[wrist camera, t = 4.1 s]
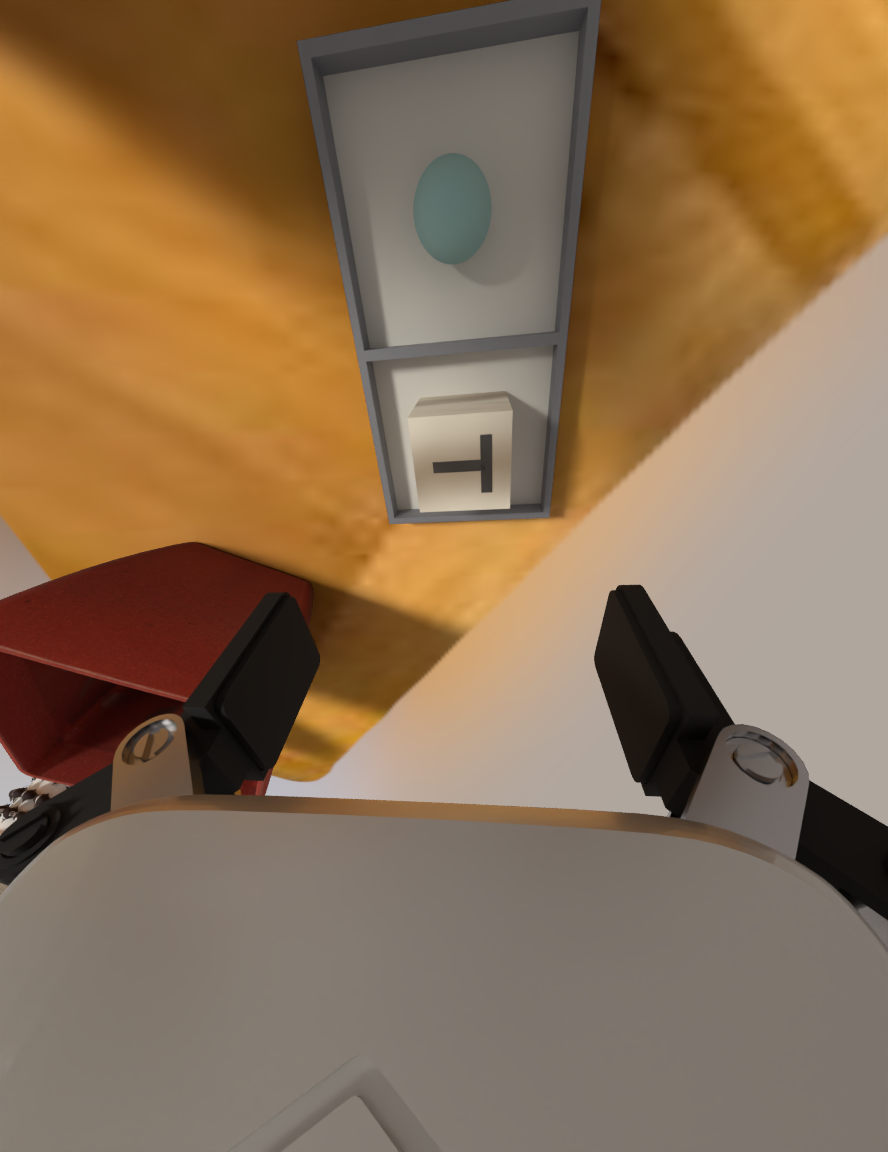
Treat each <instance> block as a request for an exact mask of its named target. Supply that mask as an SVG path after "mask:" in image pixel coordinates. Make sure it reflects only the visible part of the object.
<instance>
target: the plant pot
mask: <svg viewBox="0 0 888 1152" xmlns="http://www.w3.org/2000/svg"><path fill="white" fill-rule="evenodd" d="M269 592H288V593H289V594H290V595H291V597H294V598H295V599H296V600H297V603H298V605H299V607H300V610H301V612H302V614H303V617H304V619H305V622H306V624H307V626H308V629H309V624H310V618H311V612H312V605H313V588H312V586H311V584H309V583H308V582H307V581H305V580H302V579H299V578H296V577H293V576H291V575H288V574H285V573H282V572H279V571H276V570H273V569H270V568H267V567H265V566H262V565H259V564H256V563H253V562H250V561H247V560H244V559H241V558H239V557H236V556H233V555H230V554H227V553H224V552H222V551H219V550H216V549H213V548H210V547H207V546H204V545H201V544H199V543H194V542H188V543H182V544H176V545H171V546H167V547H163V548H158V549H154V550H150V551H146V552H142V553H138V554H134V555H130V556H127V557H123V558H119V559H116V560H112V561H109V562H106V563H103V564H99V565H96V566H93V567H90V568H86V569H83V570H80V571H78V572H75V573H72V574H69V575H66V576H63V577H60V578H57V579H54V580H52V581H49V582H46V583H43V584H41V585H38V586H35V587H33V588H30V589H27V590H25V591H23V592H19V593H17V594H14V595H12V596H9V597H7V598H4V599H2V600H0V743H1V744H2V746H3V747H4V749H5V750H6V752H7V753H8V755H9V756H10V758H11V759H12V761H13V762H14V763H15V765H16V766H17V768H18V769H19V770H20V771H21V772H22V773H24V774H26V775H28V776H31V777H34V778H38V779H42V780H46V781H50V782H55V783H59V784H64V785H68V786H73V785H75V784H77V783H78V782H80V781H82V780H84V779H85V778H87V777H89V776H91V775H92V774H94V773H96V772H98V771H99V770H101V769H103V768H104V767H106V766H108V765H110V764H111V763H113V759H114V755H115V752H116V750H117V748H118V747H119V745H120V743H121V742H122V741H123V740H124V738H125V737H126V736H127V735H128V734H129V733H130V732H131V731H133V730H134V729H135V728H136V727H138V726H139V725H141V724H142V723H144V722H146V721H147V720H149V719H151V718H154V717H156V716H159V715H164V714H176V715H178V716H180V715H181V714H182V713H183V711H184V709H183V708H182V706H183V705H184V703H185V702H186V701H187V699H188V698H189V697H190V695H191V694H192V693H193V691H194V690H195V689H196V687H197V686H198V685H199V683H200V682H201V681H202V679H203V678H204V677H205V675H206V674H207V672H208V671H209V670H210V668H211V667H212V666H213V664H214V663H215V662H216V660H217V659H218V658H219V656H220V655H221V654H222V652H223V651H224V650H225V648H226V647H227V645H228V644H229V643H230V641H231V640H232V639H233V637H234V636H235V635H236V633H237V632H238V631H239V629H240V628H241V627H242V625H243V624H244V623H245V621H246V620H247V619H248V617H249V616H250V614H251V613H252V612H253V610H254V609H255V608H256V606H257V605H258V604H259V602H260V601H261V600H262V598H263V597H264V596H265V595H266V594H267V593H269ZM272 770H273V768H272V769H269V770H268V772H267V774H266V777H265V779H264V781H252V780H245V779H244V781H243V783H242V785H241V787H240V791H241V795H260V796H265V793H266V790H267V787H268V784H269V781H270V777H271V774H272Z"/></svg>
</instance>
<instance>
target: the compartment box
mask: <svg viewBox="0 0 888 1152" xmlns="http://www.w3.org/2000/svg"><path fill="white" fill-rule="evenodd" d="M600 8H601V0H510V1H505V2H499V3H494V4H489V5H483V6H478V7H473V8H468V9H462V10H457V11H452V12H447V13H441V14H436V15H431V16H426V17H420V18H415V19H410V20H405V21H399V22H394V23H389V24H383V25H378V26H373V27H368V28H362V29H357V30H352V31H347V32H341V33H336V34H331V35H326V36H320V37H315V38H310V39H304V40H299V41H297V45H298V51H299V56H300V61H301V66H302V71H303V77H304V82H305V87H306V92H307V97H308V103H309V108H310V113H311V118H312V123H313V129H314V134H315V139H316V144H317V149H318V155H319V160H320V165H321V170H322V175H323V181H324V186H325V191H326V196H327V201H328V207H329V212H330V217H331V222H332V227H333V233H334V238H335V243H336V248H337V253H338V259H339V264H340V269H341V274H342V279H343V285H344V290H345V295H346V300H347V305H348V311H349V316H350V321H351V326H352V331H353V337H354V342H355V347H356V352H357V357H358V363H359V368H360V373H361V378H362V383H363V389H364V394H365V399H366V404H367V409H368V415H369V420H370V425H371V430H372V435H373V441H374V446H375V451H376V456H377V461H378V467H379V472H380V477H381V482H382V487H383V493H384V498H385V503H386V508H387V513H388V519H389V524H405V523H430V522H454V521H479V520H504V519H529V518H549V516H550V506H551V496H552V486H553V476H554V466H555V456H556V446H557V436H558V426H559V416H560V406H561V396H562V386H563V376H564V366H565V356H566V346H567V336H568V326H569V316H570V307H571V297H572V287H573V277H574V267H575V257H576V247H577V237H578V227H579V217H580V207H581V197H582V187H583V177H584V167H585V157H586V147H587V137H588V127H589V117H590V107H591V97H592V88H593V78H594V68H595V58H596V48H597V38H598V28H599V18H600ZM448 153H458V154H462V155H465V156H466V157H468V158H470V159H471V160H472V161H474V162H475V163H476V164H477V165H478V167H479V168H480V169H481V171H482V172H483V174H484V176H485V178H486V181H487V183H488V186H489V190H490V196H491V206H492V210H491V221H490V225H489V229H488V232H487V235H486V238H485V240H484V242H483V243H482V245H481V247H480V248H479V249H478V251H477V252H476V253H475V254H474V255H473V256H472V257H471V258H469V259H468V260H466V261H464V262H462V263H459V264H445V263H442V262H439V261H438V260H436V259H434V258H433V257H432V256H431V255H430V254H429V253H428V252H427V251H426V250H425V248H424V247H423V245H422V244H421V242H420V239H419V237H418V234H417V231H416V228H415V224H414V216H413V204H414V196H415V191H416V188H417V185H418V182H419V179H420V177H421V175H422V174H423V172H424V170H425V169H426V168H427V166H428V165H429V164H430V163H431V162H432V161H433V160H435V159H436V158H438V157H439V156H441V155H444V154H448ZM499 391H506V393H507V396H508V399H509V402H510V404H511V407H512V410H513V420H512V455H511V490H510V509H488V510H465V511H442V512H420V509H419V502H418V494H417V487H416V479H415V472H414V464H413V457H412V449H411V442H410V434H409V427H408V419H407V418H408V416H409V415H410V413H411V411H412V410H413V408H414V407H415V405H416V403H417V402H418V400H419V399H420V398H421V397H434V396H447V395H460V394H473V393H486V392H499Z"/></svg>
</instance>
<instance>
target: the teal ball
mask: <svg viewBox="0 0 888 1152" xmlns="http://www.w3.org/2000/svg"><path fill="white" fill-rule="evenodd" d="M491 210H492V206H491V196H490V190H489V186H488V183H487V181H486V178H485V176H484V174H483V172H482V171H481V169H480V168H479V167H478V165H477V164H476V163H475V162H474V161H472V160H471V159H470V158H468V157H466V156H465V155H462V154H458V153H448V154H444V155H441V156H439V157H438V158H436V159H435V160H433V161H432V162H431V163H430V164H429V165H428V166H427V168H426V169H425V170H424V172H423V174H422V175H421V177H420V179H419V182H418V185H417V188H416V191H415V196H414V204H413V216H414V224H415V228H416V231H417V234H418V237H419V239H420V242H421V244H422V245H423V247H424V248H425V250H426V251H427V252H428V253H429V254H430V255H431V256H432V257H433V258H434V259H436V260H438V261H439V262H442V263H445V264H459V263H462V262H464V261H466V260H468V259H469V258H471V257H472V256H473V255H474V254H475V253H476V252H477V251H478V249H479V248H480V247H481V245H482V243H483V242H484V240H485V238H486V235H487V232H488V229H489V225H490V221H491Z"/></svg>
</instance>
